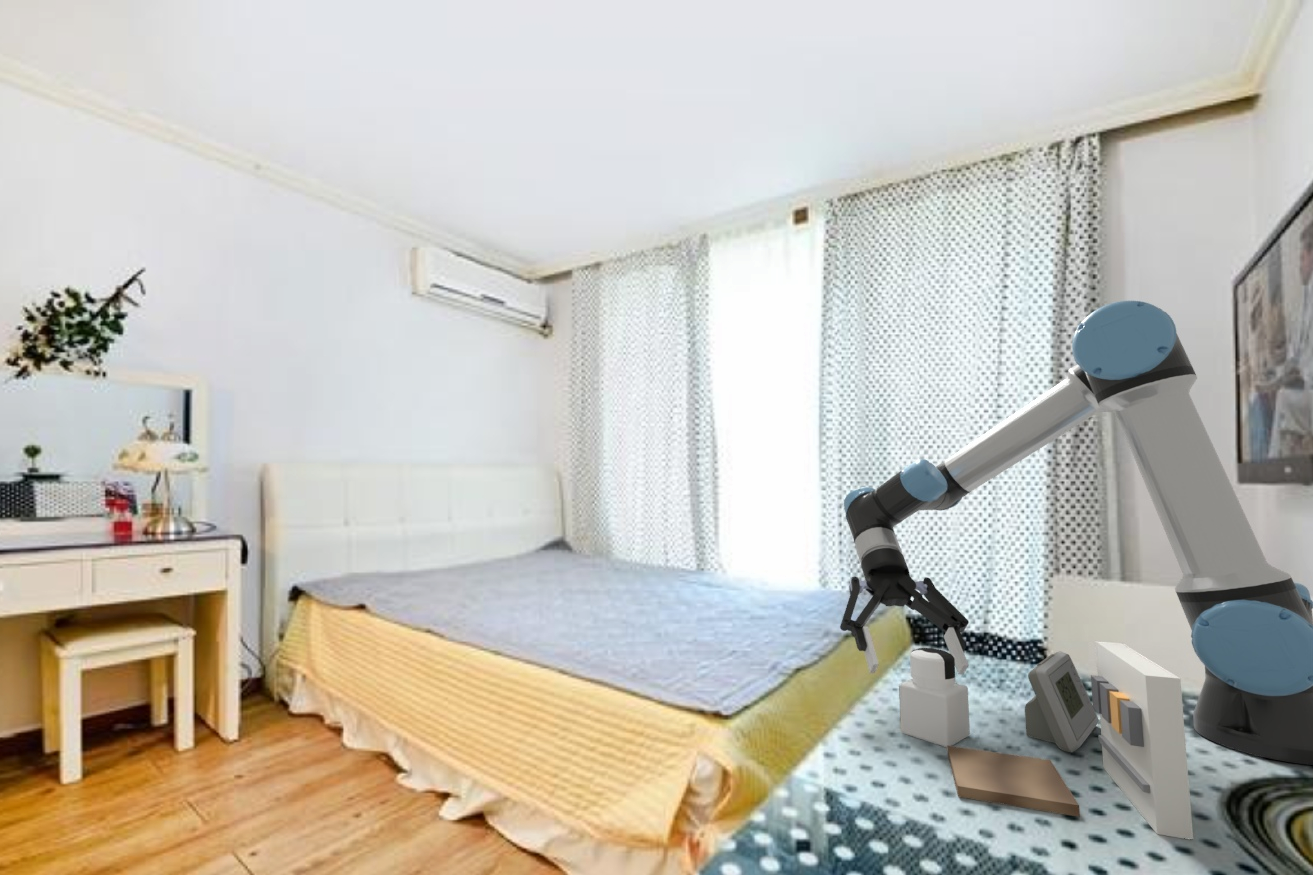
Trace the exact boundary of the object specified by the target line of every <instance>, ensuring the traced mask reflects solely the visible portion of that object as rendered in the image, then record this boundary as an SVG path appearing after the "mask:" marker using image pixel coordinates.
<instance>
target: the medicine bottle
mask: <svg viewBox="0 0 1313 875" xmlns="http://www.w3.org/2000/svg"><path fill="white" fill-rule="evenodd" d="M909 658H910V659H909V662H910V663H909V664H910V677H911V679H909V680H906V681H903V682H900V684H899V686H898V690H899V691H898V693H899V695H898V696H899V720H900V726H899V727H900V732H901V733H902V734H904V735H907V736H910V737H913V738H915V739H919V740H922V741H926V742H928V743H931V744H935V745H937V746H940V747H944V748H946V749H947V746H954V745H955V744H957V743H959V742H960V741H962V740H964V739H966V738H967V737H969V736H970V734H971V731H970V730H971V729H970V728H971V727H970V710H969V709H970V708H969V707H970V705H969V688H968V686H967V685H965V684H961V683H956V667H955V659H954V657H953V656H952V655H951V654H950V652H949V651H945V650H943V649H938V648H935V647H934V648H932V647H920V648H919V647H918V648H916V649H913V650H911V651H910V653H909Z"/></svg>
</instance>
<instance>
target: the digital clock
mask: <svg viewBox="0 0 1313 875" xmlns="http://www.w3.org/2000/svg"><path fill="white" fill-rule="evenodd" d="M1027 677H1028V681H1029V684H1030V685H1031V688H1032V691H1033V692H1034V695H1035V696H1034V697H1032V698H1031V699H1029V701H1028V702H1026V704H1025V705H1024V719H1025V721H1024V722H1025V734H1026V736H1028V737H1031V738H1035V739H1039V740H1042V741H1047V742H1049V743H1054V744H1056V745H1057V747H1058V748H1059V749H1060V750H1062V751H1064V752H1066V753H1074V752H1076V751H1077V750H1078V749H1079V748H1080V747H1081V746H1082V745H1083V744H1084V742H1085V741H1086V739H1087V738H1088V737H1089V736H1090V734H1092V732H1093V730H1094V729H1095V728H1096V726H1097V725H1098V724H1099V717H1098V714H1097V711H1096V710H1095V709H1094V708H1093V702H1092V701H1091V699H1090V696H1089V695H1088V692H1087V690H1086V688H1085V686H1084V684H1083V681H1082V679H1081V677H1080V675H1079V673H1078V670H1077V669H1076V667H1075V664H1074V662H1073V660H1072V658H1071V655H1069V654H1068V653H1067V652H1064V651H1057V652H1054V653H1052V654H1050V655H1048V656H1046V658H1044V659H1042V660H1041V661H1040V662H1039V663H1037V664H1036V666H1035V667H1033V669H1031V670H1030V671H1029V672H1028V674H1027Z"/></svg>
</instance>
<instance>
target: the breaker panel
mask: <svg viewBox="0 0 1313 875" xmlns="http://www.w3.org/2000/svg"><path fill="white" fill-rule="evenodd" d="M1094 642H1095V643H1094V647H1095V659H1096V661H1095V662H1096V673H1097V674H1096V675H1092V674H1091V675H1090V684H1091V699H1092V701H1091V702H1092V705H1093V708H1094V710H1095V712H1096V713H1098V714H1099V720H1100V722H1099V723H1100V731H1101V732H1100V734H1098V736H1097V737H1098V742H1099V743H1100V744H1101V748H1102V749H1101V750H1102V764H1103V769H1104V771H1105V772H1106V773H1107V774H1108V775H1109V777H1110V778H1111V779H1112V781H1114V782H1113V783H1115V785H1117V787H1118V788H1119V789H1120V790H1121V792H1122V793H1123V794H1124V796H1125V797H1126V798H1127V799H1128V800H1129V802H1130V803H1131V804H1132V805H1133V807H1135V809H1136V810H1137V811H1138V812H1139V813H1140V815H1141V816H1142V817H1143V819H1144V820H1145V821H1146V822H1147V823H1148V825H1149V826H1150V827H1151V828H1152V830H1153V831H1154V832H1155V834H1156V835H1160V836H1167V837H1172V838H1179V839H1184V838H1185V840H1190V839H1193V840H1194V834H1193V832H1194V831H1193V822H1192V807H1191V805H1192V804H1191V794H1190V783H1189V771H1188V770H1189V769H1188V758H1187V755H1188V754H1187V744H1186V732H1185V731H1186V730H1185V719H1184V707H1183V706H1184V705H1183V694H1182V683H1181V682H1182V680H1181V677H1178V675H1176V674H1174V673H1172V672H1171V671H1169V670H1167V669H1165V668H1164V667H1162V666H1161V665H1159V664H1157V663H1156V662H1155V661H1152V660H1151V659H1150V658H1147V657H1146V656H1145V655H1142V654H1141V653H1140V652H1138V651H1136V650H1135V649H1133V648H1131V647H1129V646H1128V645H1127V644H1125V643H1123V642H1113V641H1111V642H1110V641H1097V640H1095V641H1094ZM1187 838H1189V839H1187Z"/></svg>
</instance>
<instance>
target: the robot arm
mask: <svg viewBox="0 0 1313 875" xmlns="http://www.w3.org/2000/svg"><path fill="white" fill-rule="evenodd" d="M1071 342H1072V345H1071V348H1072V355H1073V359H1074V361H1075V363H1076V364H1075V365H1073V366H1072V367H1070V368H1069V369H1068V371H1067V375H1066V378H1065V379H1063V380H1062V381H1060V382H1059V383H1057V384H1056V385H1055V386H1053V387H1052V388H1050V389H1049V390H1047V391H1046V392H1044V393H1043V394H1041V395H1040V396H1038V397H1037V398H1035V399H1034V400H1032V401H1031V402H1029V403H1028V404H1027V405H1025V406H1024V407H1022V408H1020V409H1019V410H1017V411H1016V412H1015V413H1013V414H1012V415H1010V416H1008V417H1007V418H1006V419H1004V420H1003V421H1001V422H999V423H998V424H997V425H995V426H994V427H993V428H991V429H990V430H988V431H987V432H985V433H983V434H982V435H981V436H979V437H977V438H976V439H975V440H973V441H971V442H970V443H969V444H967V445H965V446H964V447H963V448H961V449H960V450H958V451H957V452H956V453H954V454H953V455H951V456H950V457H948V458H947V459H945V460H944V461H942V462H941V463H940V464H938V465H937V466H936V465H935V464H934V463H932V462H930V461H929V460H927V459H924V458H919V459H916V460H915V461H914V462H912V463H910V464H909V465H905V466H904V467H903V468H902V469H901V470H900V471H899V472H897V473H896V474H894V476H892V477H890V478H889V479H888V480H887V481H885V482H883V484H881V485H880V486H878V487H877V488H876V489H875V488H873V487H869V486H864V487H863V486H861V487H860V488H859V489H853V490H851V491H850V492H848V494H847V495H846V496H845V497H844V500H843V507H844V513H845V519H846V522H847V524H848V527H849V529H850V532H851V533H850V534H851V535H852V536H851V537H852V539H853V543H854V546H855V550H856V553H857V556H858V559H859V562H860V567H861V569H862V573H863V577H864V580H861V579H860V578H858V577H857V576H852V578H851V580H850V583H849V586H848V590H849V598H848V601H847V605H846V606H845V609H844V610H845V611H844V614H843V616H842V619H841V623H840V626H839V627H840V630H841V631H843V632H845V631H848V632H850V635H851V636H852V637H854V640H855V644H856V648H857V650H858V651H859V652H863V653H864V656H865V661H866V663H867V667H868V671H869V674H876V672H877V669H878V666H879V664H880V663H879V660H878V656H877V653H876V650H875V646H874V642H873V639H872V635H871V633H870V630H869V629H870V628H869V626H866V624H867V623H868V621H869V620H870V618H871V617H872V615H873V614H874V613H875V611H876V610H877V609H878V608H879V606H880V605H881V604H882V605H884V606H885V607H893V606H894V607H895V606H896V607H905V606H906V607H908V608H909V609H910V610H912V611H915V612H917V613H919V614H920V615H921V616H923V617H924V618H925V619H926V620H928V621H929V622H930V623H932V624H934V625H935V626H936V627H937V628H939V629H940V630H941V631H943V632H944V633H945V634H944V636H943V639H944V641H945V644H946V647H947V649H948V653H950V654H951V655H952V656H953V657H954V659H955V671H956V672H957V675H964V674H965V673H966V671H967V670H968V669H969V666H970V665H969V662H968V660H967V657H966V654H965V652H964V650H965V649H966V642H965V640H964V638H963V635H962V633H964V632H965V630H966V628H967V626H968V625H969V623H970V622H969V620H968V619H967V618H966V617H965V616H964V615H963V614H962V612H960V610H958V609H957V607H955V605H953V604H952V603H951V602H950V600H948V599H947V598H946V597H945V596H944V595H943V594H942V592H940V591H939V590H938V589H937V588H936V586H935V584H934V583H933V580H932V579H931V578H929V577H924V579H923V580H921V581H920V580H918V581H915V580H914V579H913V577H911V574H910V571H909V567H908V565H907V562H906V559H905V556H904V554H903V551H902V548H901V546H900V543H899V541H898V539H897V535H896V533H895V530H894V527H895V526H897V525H898V524H900V523H902V522H903V521H904V520H906V519H908V518H909V517H911V516H912V515H914V514H915V513H917V512H918V511H930V510H931V511H933V510H934V511H946V510H949V509H952V508H954V507H956V506H957V505H958V504H960V502H961V501H962V500H963V498H964V497H965V496H967V495H968V494H969V493H970V494H971V492H973V491H974V490H975V489H976V490H977V488H979V487H981V486H982V485H984V484H985V483H987V482H989V481H990V480H992V479H994V478H995V477H997V476H998V475H1000V474H1002V473H1003V472H1004V471H1007V470H1009V469H1010V468H1011V467H1013V466H1014V465H1016V464H1018V463H1019V462H1021V461H1022V460H1024V459H1026V458H1028V457H1029V456H1030V455H1032V454H1034V453H1035V452H1037V451H1039V450H1040V449H1042V448H1044V447H1045V446H1047V445H1048V444H1050V443H1052V442H1053V441H1054V440H1056V439H1058V438H1059V437H1061V436H1063V435H1065V434H1066V433H1067V432H1070V430H1072V429H1074V428H1076V427H1077V426H1079V425H1081V424H1082V423H1083V422H1085V421H1087V420H1088V419H1091V418H1092V417H1093V416H1095V415H1096V414H1098V413H1113V414H1115V415H1116V416H1115V417H1116V418H1117V420H1118V424H1119V425H1120V428H1121V430H1122V433H1123V434H1124V437H1125V440H1126V442H1127V444H1128V447H1129V449H1130V451H1131V454H1132V456H1133V459H1134V461H1135V462H1136V466H1137V467H1138V470H1139V472H1140V475H1141V477H1142V480H1143V482H1144V484H1145V487H1146V489H1147V492H1148V494H1149V496H1150V499H1151V501H1152V504H1153V505H1154V508H1155V511H1156V513H1157V515H1158V517H1159V520H1160V522H1161V525H1162V528H1163V530H1164V532H1165V534H1166V537H1167V539H1168V542H1169V544H1170V547H1171V548H1172V551H1173V553H1174V556H1175V559H1176V561H1177V563H1178V565H1179V567H1180V570H1181V572H1182V577H1181V579H1180V581H1178V583H1177V585H1175V588H1174V590H1175V593H1176V595H1177V599H1178V600H1179V603H1180V606H1181V608H1182V610H1183V612H1184V613H1183V614H1184V615H1185V618H1186V620H1187V622H1188V625H1189V627H1190V630H1191V635H1190V637H1191V645H1192V648H1193V651H1194V653H1195V655H1196V657H1198V659H1199V660H1200V662H1201V663H1202V664H1203V665H1204V670H1205V671H1204V673H1205V674H1204V675H1205V679H1204V682H1203V685H1202V688H1201V691H1200V693H1199V695H1198V699H1197V702H1196V705H1195V707H1194V710H1193V714H1192V715H1193V716H1192V717H1193V728H1194V730H1195V731H1196V733H1198V734H1199V735H1200V736H1202V737H1203V738H1206V739H1208V740H1210V741H1211V742H1213V743H1216V744H1218V745H1221V746H1224V747H1226V748H1229V749H1234V750H1236V751H1238V752H1242V753H1247V754H1250V755H1252V756H1253V755H1254V756H1258V757H1262V758H1267V759H1271V760H1275V761H1280V762H1281V761H1282V762H1286V763H1292V764H1302V765H1310V766H1313V600H1312V599H1311V594H1310V590H1309V588H1308V587H1306V586H1305V585H1304V584H1302V583H1299V582H1295V581H1294V580H1293V578H1292V576H1291V574H1290V573H1288V572H1285V571H1283V570H1281V569H1279V568H1276V567H1274V566H1272V565H1271V564H1269V563H1268V561H1267V559H1266V557H1265V555H1264V553H1263V550H1262V548H1261V546H1260V544H1259V542H1258V540H1257V537H1256V535H1255V533H1254V531H1253V528H1252V526H1251V525H1250V523H1249V522H1250V521H1249V520H1248V518H1247V516H1246V514H1245V512H1244V509H1243V507H1242V505H1241V503H1240V501H1239V499H1238V497H1237V496H1238V495H1237V494H1236V492H1235V490H1234V488H1233V486H1232V483H1231V481H1230V479H1229V477H1228V474H1227V473H1226V471H1225V468H1224V466H1223V463H1222V462H1221V459H1220V458H1219V456H1218V453H1217V451H1216V449H1215V447H1214V444H1213V442H1212V440H1211V438H1210V436H1209V433H1208V432H1207V429H1206V427H1205V425H1204V423H1203V420H1202V419H1201V417H1200V414H1199V412H1198V410H1197V408H1196V405H1195V403H1194V401H1193V399H1192V396H1191V394H1190V390H1191V389H1192V387H1193V386H1194V384H1195V382H1196V381H1197V379H1198V375H1197V373H1196V371H1195V369H1194V368H1193V364H1192V362H1191V360H1190V359H1189V357H1188V354H1187V352H1186V351H1185V348H1184V346H1183V344H1182V342H1181V340H1180V338H1179V335H1178V333H1177V328H1176V324H1175V322H1174V320H1173V318H1172V317H1171V315H1169V313H1167V312H1166V311H1164V310H1163V308H1162V309H1161V308H1159V307H1158V306H1156V305H1154V304H1151V303H1149V302H1146V301H1140V300H1121V301H1114V302H1112V303H1109V304H1106V305H1105V304H1104V305H1103V306H1101V307H1099V308H1096V309H1095V310H1094V311H1092V312H1091V313H1090V314H1088V315H1087V316H1086V317H1085V318H1084V319H1083V320H1082V321H1081V322H1080V324H1079V325H1078V326H1077V328H1076V330H1075V332H1074V335H1073V338H1072V341H1071ZM864 590H865V591H867V593H869V594H870V595H871V596H872V597H871V598H870V599H869V601H868V602H867V604H866V605H865V607H863V609H862V611H861V612H860V614H859V615H858V616H857V618H856V619H855V620H853V619H852V617H853V615H854V614H853V613H854V611H855V607H856V604H857V601H858V599H859V598H858V597H859V595H860V594H861V593H863V591H864ZM923 596H924V597H923ZM912 598H913V600H912Z"/></svg>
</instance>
